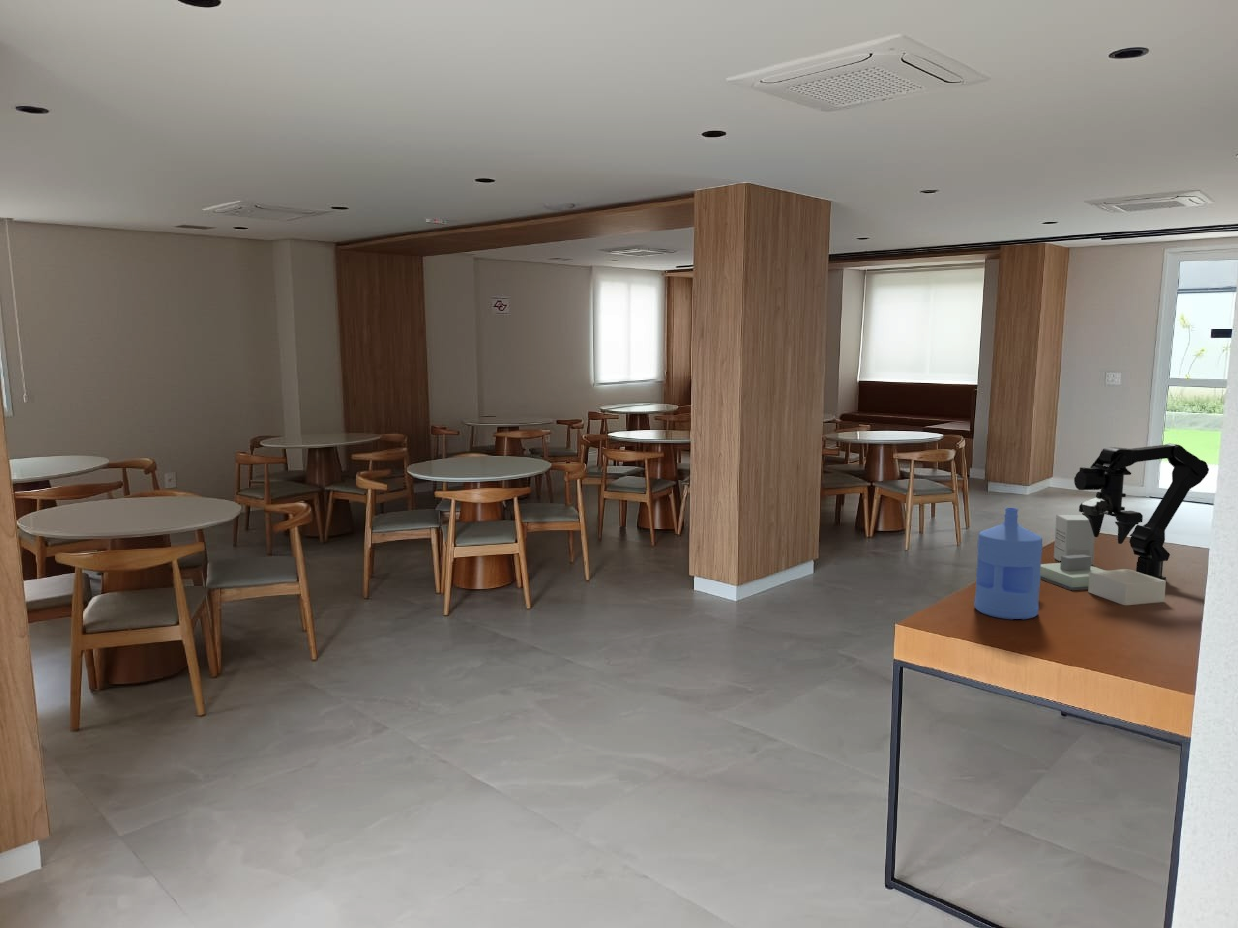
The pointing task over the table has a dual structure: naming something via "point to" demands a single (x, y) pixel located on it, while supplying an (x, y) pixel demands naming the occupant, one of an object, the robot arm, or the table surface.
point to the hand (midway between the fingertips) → (1107, 540)
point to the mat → (1064, 585)
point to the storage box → (1127, 587)
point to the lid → (1070, 570)
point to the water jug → (1008, 570)
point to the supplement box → (1073, 536)
